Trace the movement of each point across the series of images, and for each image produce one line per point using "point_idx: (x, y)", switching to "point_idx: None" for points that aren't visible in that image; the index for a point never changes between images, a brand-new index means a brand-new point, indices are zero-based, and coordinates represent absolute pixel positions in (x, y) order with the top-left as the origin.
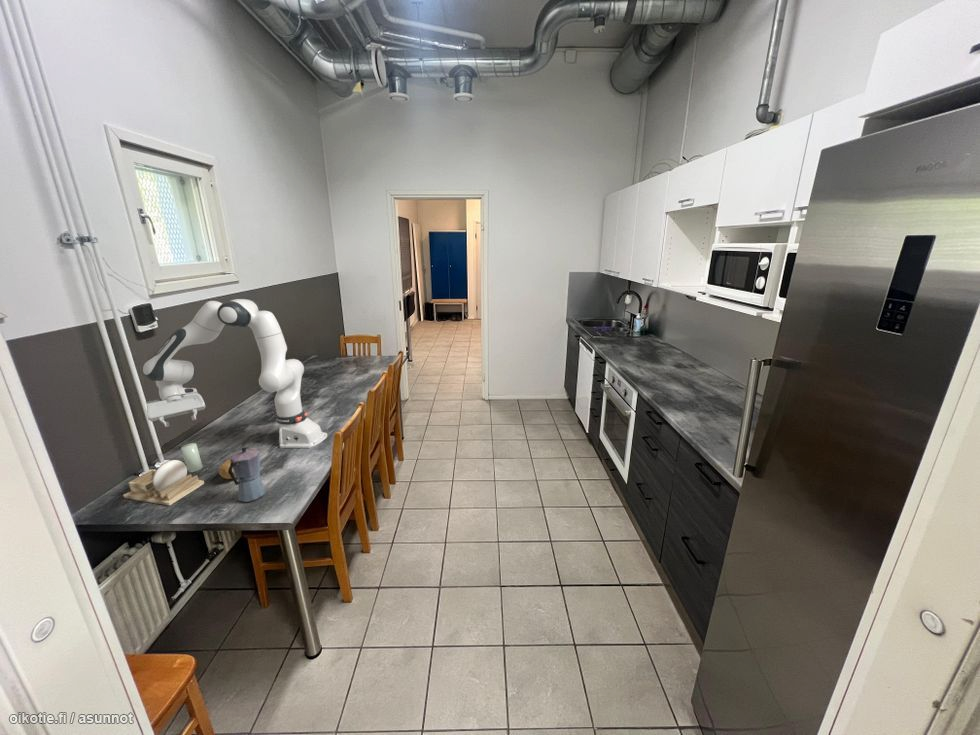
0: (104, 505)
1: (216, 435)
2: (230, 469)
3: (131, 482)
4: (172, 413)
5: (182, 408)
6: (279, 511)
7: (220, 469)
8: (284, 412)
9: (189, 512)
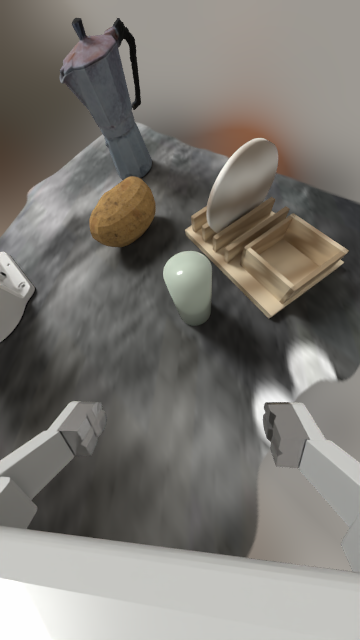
0: None
1: None
2: (128, 34)
3: (338, 246)
4: (233, 558)
5: (19, 636)
6: None
7: (148, 188)
8: None
9: (214, 168)
